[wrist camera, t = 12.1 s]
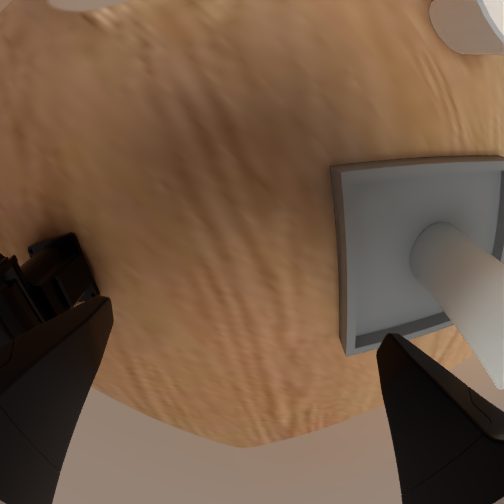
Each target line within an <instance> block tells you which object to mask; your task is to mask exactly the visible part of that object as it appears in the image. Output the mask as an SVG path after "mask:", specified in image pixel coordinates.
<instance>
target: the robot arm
mask: <svg viewBox="0 0 504 504" xmlns="http://www.w3.org/2000/svg"><path fill="white" fill-rule="evenodd" d="M69 237H70V238H71V240H72V241H71V240H70V238H69ZM32 250H33V251H32ZM28 253H29V255H30V257H31V258H30V259H29V260H28V261H27V262H25V263H24V264H23V265H22V266H21V267H20V266H19V264H18V262H17V261H18V260H17V258H16V256H15V255H13V256H11V257H10V258H8V257H4V256H3V255H2V254H0V504H52V502H53V497H54V494H55V490H56V486H57V483H58V479H59V476H60V471H61V468H62V465H63V462H64V459H65V455H66V452H67V449H68V446H69V443H70V440H71V437H72V434H73V432H74V429H75V426H76V423H77V421H78V418H79V415H80V413H81V410H82V407H83V405H84V402H85V400H86V397H87V395H88V392H89V390H90V387H91V385H92V383H93V380H94V378H95V375H96V373H97V371H98V368H99V366H100V363H101V360H102V357H103V354H104V351H105V347H106V344H107V341H108V338H109V335H110V332H111V329H112V326H113V312H112V304H111V300H110V298H109V297H105V296H100V294H99V291H98V289H97V287H96V284H95V282H94V280H93V278H92V276H91V273H90V271H89V269H88V266H87V264H86V262H85V259H84V257H83V254H82V252H81V249H80V247H79V244H78V242H77V239H76V237H75V235H74V234H73V233H67V234H64V235H61V236H57V237H54V238H51V239H48V240H45V241H42V242H38V243H35V244H32V245H31V246H29V247H28ZM93 293H94V294H95V295H94V294H93ZM82 301H86V302H84V303H82V304H80V305H78V306H76V307H74V306H75V304H76V303H77V302H82ZM73 307H74V308H73ZM376 357H377V363H378V370H379V376H380V383H381V390H382V395H383V400H384V404H385V408H386V413H387V417H388V421H389V426H390V431H391V435H392V440H393V446H394V451H395V457H396V463H397V468H398V474H399V481H400V487H401V494H402V495H401V496H402V504H504V412H503V411H502V410H500V409H499V408H497V407H496V406H494V405H493V404H492V403H490V402H489V401H487V400H486V399H484V398H483V397H481V396H480V395H479V394H478V393H476V392H475V391H474V390H472V389H471V388H470V387H468V386H467V385H466V384H465V383H463V382H462V381H461V380H459V379H458V378H457V377H455V376H454V375H453V374H452V373H450V372H449V371H448V370H447V369H445V368H444V367H443V366H441V365H440V364H439V363H437V362H436V361H435V360H433V359H432V358H431V357H429V356H428V355H427V354H425V353H424V352H423V351H421V350H420V349H419V348H417V347H416V346H415V345H413V344H412V343H411V342H409V341H408V340H407V339H405V338H404V337H403V336H401V335H400V334H399V333H388V334H386V335H385V337H384V339H383V341H382V343H381V345H380V346H379V348H378V350H377V354H376Z"/></svg>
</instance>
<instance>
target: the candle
mask: <svg viewBox="0 0 504 504" xmlns="http://www.w3.org/2000/svg"><path fill="white" fill-rule="evenodd" d="M410 267H411V270H412V273H413V274H414V276H415V277H416V278H417V279H418V280H419V281H420V283H421V284H422V285H423V286H424V287H425V289H426V290H427V291H428V292H429V293H430V295H431V296H432V297H433V298H434V299H435V301H436V302H437V303H438V304H439V306H440V307H441V308H442V310H443V311H444V312H445V313H446V315H447V316H448V317H449V319H450V320H451V321H452V322H453V324H454V325H455V326H456V328H457V329H458V330H459V332H460V333H461V335H462V336H463V337H464V339H465V340H466V341H467V343H468V344H469V346H470V347H471V349H472V350H473V351H474V353H475V354H476V356H477V357H478V359H479V360H480V362H481V363H482V365H483V366H484V368H485V369H486V371H487V372H488V374H489V376H490V377H491V379H492V380H493V382H494V384H495V385H496V387H497V388H498V389H504V264H502V263H501V262H500V261H499V260H498V259H496V258H495V257H494V256H493V255H491V254H490V253H489V252H488V251H486V250H485V249H484V248H482V247H481V246H480V245H479V244H477V243H476V242H475V241H473V240H472V239H471V238H469V237H468V236H466V235H465V234H464V233H462V232H461V231H460V230H458V229H457V228H455V227H454V226H452V225H451V224H449V223H446V222H438V223H435V224H433V225H431V226H429V227H428V228H426V229H425V230H424V231H423V232H422V233H421V234H420V235H419V237H418V238H417V240H416V242H415V243H414V246H413V248H412V251H411V255H410Z"/></svg>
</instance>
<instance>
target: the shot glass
mask: <svg viewBox="0 0 504 504" xmlns="http://www.w3.org/2000/svg"><path fill="white" fill-rule="evenodd" d="M429 15H430V21H431V23H432V25H433V27H434V30H435V32H436V33H437V34H438V36H439V37H440V38H441V40H442V41H443V43H445V44H446V45H447V46H448V47H449V48H450V49H451V50H453V51H455V52H457V53H459V54H461V55H470V54H482V55H504V0H434V1H433V2H431V5H430V8H429Z"/></svg>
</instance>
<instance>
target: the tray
mask: <svg viewBox="0 0 504 504" xmlns="http://www.w3.org/2000/svg"><path fill="white" fill-rule="evenodd" d="M330 171H331V179H332V189H333V199H334V209H335V221H336V235H337V251H338V272H339V311H340V337H339V338H340V341H341V344H342V347H343V350H344V352H345V355H346V356H351V355H355V354H359V353H363V352H367V351H371V350H375V349H378V348H379V346H380V345H381V343H382V341H383V339H384V337H385V335H386V334H388V333H399V334H400V335H401V336H403V337H404V338H405V339H407V340H410V339H413V338H417V337H420V336H423V335H426V334H429V333H432V332H435V331H438V330H441V329H443V328H446V327H449V326H452V325H454V324H453V322H452V321H451V320H450V319H449V317H448V316H447V315H446V313H445V312H444V311H443V310H442V308H441V307H440V306H439V304H438V303H437V302H436V301H435V299H434V298H433V297H432V296H431V295H430V293H429V292H428V291H427V290H426V289H425V287H424V286H423V285H422V284H421V283H420V281H419V280H418V279H417V278H416V277H415V276H414V274H413V273H412V270H411V267H410V255H411V251H412V248H413V246H414V243H415V242H416V240H417V238H418V237H419V235H420V234H421V233H422V232H423V231H424V230H425V229H426V228H428V227H429V226H431V225H433V224H435V223H438V222H446V223H449V224H451V225H452V226H454V227H455V228H457V229H458V230H460V231H461V232H462V233H464V234H465V235H466V236H468V237H469V238H471V239H472V240H473V241H475V242H476V243H477V244H479V245H480V246H481V247H482V248H484V249H485V250H486V251H488V252H489V253H490V254H491V255H493V256H494V257H495V258H496V259H498V260H499V261H500V262H501V263H502V264H504V157H501V156H444V157H423V158H408V159H394V160H383V161H372V162H362V163H353V164H344V165H336V166H330Z"/></svg>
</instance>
